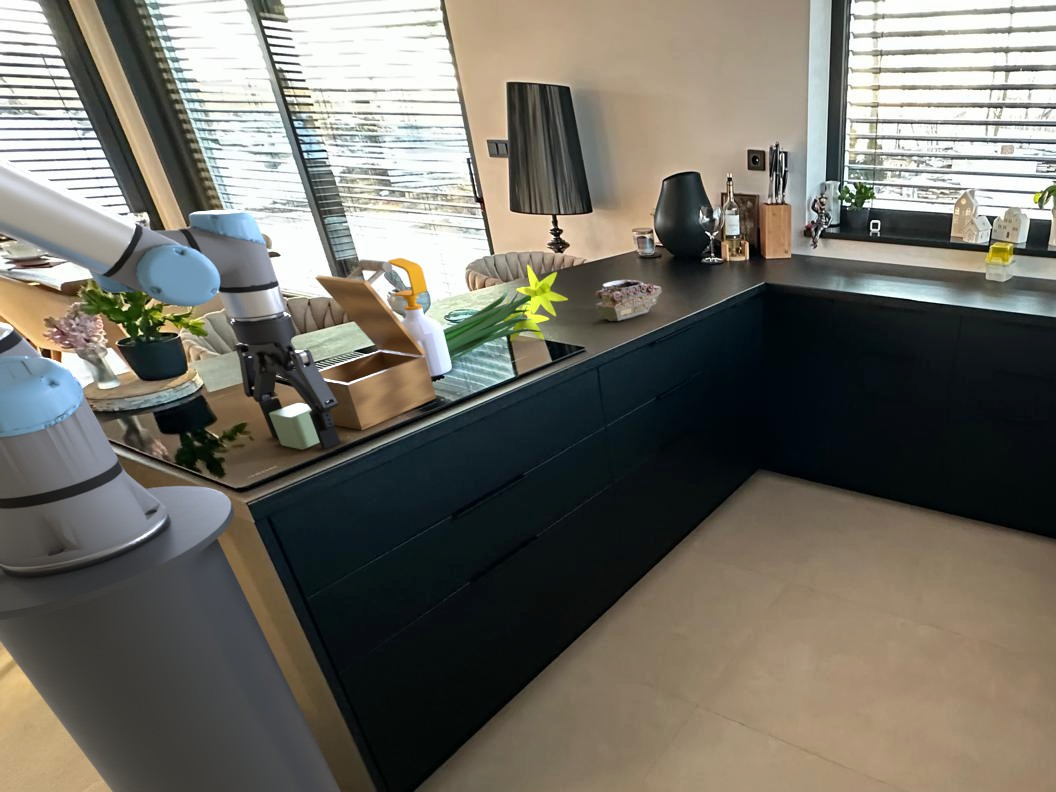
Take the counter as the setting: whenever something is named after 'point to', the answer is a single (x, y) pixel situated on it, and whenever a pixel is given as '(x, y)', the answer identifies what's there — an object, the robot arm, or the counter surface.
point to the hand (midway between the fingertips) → (306, 440)
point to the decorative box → (626, 299)
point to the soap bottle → (423, 321)
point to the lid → (371, 308)
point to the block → (295, 426)
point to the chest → (377, 387)
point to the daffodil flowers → (503, 317)
